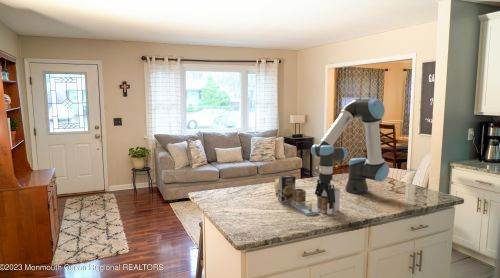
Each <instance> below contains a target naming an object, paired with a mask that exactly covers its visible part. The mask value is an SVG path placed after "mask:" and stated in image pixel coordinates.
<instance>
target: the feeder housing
mask: <svg viewBox="0 0 500 278" xmlns="http://www.w3.org/2000/svg"><path fill="white" fill-rule="evenodd" d="M340 193H341V188H339V187H337V186H336V185H334V194H335V201H336V202H335V203H333V208H332V212H334V211H335V212H339V211H340V198H341V197H340V196H341V195H340ZM322 196H327V194H326V191H325V189H324V191H323V193H322Z"/></svg>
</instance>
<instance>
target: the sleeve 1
mask: <svg viewBox="0 0 500 278" xmlns="http://www.w3.org/2000/svg"><path fill="white" fill-rule="evenodd" d="M306 195H307V191H306V190H305V189H304V188H295V189H293V203H295V204H296V205H302V204H305V203H307V202H306V198H307V197H306Z"/></svg>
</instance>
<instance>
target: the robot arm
mask: <svg viewBox="0 0 500 278" xmlns="http://www.w3.org/2000/svg"><path fill="white" fill-rule="evenodd" d="M385 111H386V110H385V104H384V103H383V102H382V101H381V100H380V99H374V98H356V99H353V100H351V101H349V102H348V103H346V104H345V105H344V106H343V107H342V109H340V111H339V115H338V117H337V118H336V119H335V121H334V122H333V123H332V125H331V126H330V127H329V129H328V130H327V132H326V133H325V134H324V136H323V137H322V138H321V140H320V141H319V142H318V143H315V144H313V145H312V146H311V148H310V153H311V155H312V156H313V157H317V158H319V165H318V166H319V168H318V169H319V170H318V171H319V172H318V179H316V180H317V182H316V183H317V184H316V187H315V190H314V194H315V196H316V208H317V209H318V196H322V193H323V191H324V189H325V191H326V194H327V198H328V206H327V213H326V214H327V215H333V210H332V208H333V203H335V202H336V201H335V194H334V186H335V184H332V183H331V181H333V173H334V162H339V161H343V160H346V159H347V158H348V156H349V151H348V150H347V148H346V147H344V146H342V147H341V146H339V147H338V146H337V147H336V146H333V145H334V144H335V143H336V142H337V140H338V139H339V138H340V136H341V134H342V133H343V132H344V130H345V129H346V128H347V126H348V125H349V123H351V122H353V121H354V120H355V118H360V119H361V122H362V123H363V124H364V133H365V145H366V155H367V157H354V158H353V157H352V158H350V159H349V162H348V177H347V181H346V185H345V188H344V190H345V191H346V192H347V193H350V194H355V195H364V194H365V195H366V194H368V192H369V186H368V184H367V179H368V180H371V181H375V182H384V181H385V180H386V179H387V178H388V176H389V173H390V165H388V164H386V162H385V161H386V160H385V158H383V155H382V143H381V132H380V122H381V121H382V118H383V117H384V116H385Z"/></svg>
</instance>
